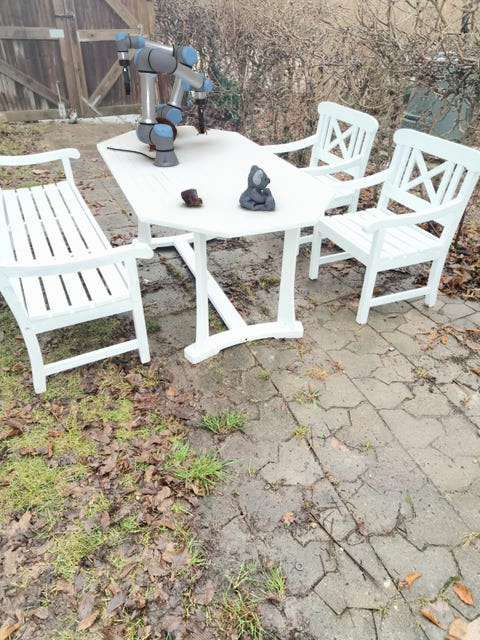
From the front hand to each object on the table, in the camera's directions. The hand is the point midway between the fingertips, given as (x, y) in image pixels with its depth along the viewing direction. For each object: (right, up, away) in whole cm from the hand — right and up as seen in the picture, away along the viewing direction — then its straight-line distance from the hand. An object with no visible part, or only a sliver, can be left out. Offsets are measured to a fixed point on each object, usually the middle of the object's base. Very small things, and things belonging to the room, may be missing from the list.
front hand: (201, 133), depth 330 cm
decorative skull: (-29, -11, -1) cm, 31 cm away
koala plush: (+36, -79, -101) cm, 133 cm away
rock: (+3, -78, -99) cm, 126 cm away
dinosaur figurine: (0, -1, 0) cm, 1 cm away
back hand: (-52, +25, -9) cm, 58 cm away
